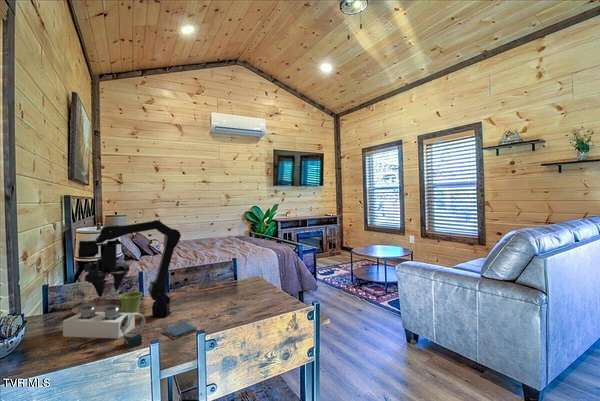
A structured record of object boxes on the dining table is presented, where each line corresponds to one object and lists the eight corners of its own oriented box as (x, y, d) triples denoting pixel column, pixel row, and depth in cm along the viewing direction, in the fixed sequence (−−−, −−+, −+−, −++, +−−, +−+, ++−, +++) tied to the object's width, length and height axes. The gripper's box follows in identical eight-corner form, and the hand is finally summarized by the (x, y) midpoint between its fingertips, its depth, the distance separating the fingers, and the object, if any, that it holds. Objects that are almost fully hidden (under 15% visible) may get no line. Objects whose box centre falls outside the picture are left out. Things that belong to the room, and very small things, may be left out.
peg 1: (98, 318, 124) (98, 304, 124) (89, 322, 119) (89, 308, 119) (86, 317, 124) (86, 304, 124) (77, 322, 119) (77, 308, 119)
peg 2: (122, 319, 123) (122, 305, 123) (114, 323, 118) (114, 309, 118) (110, 318, 124) (110, 304, 124) (102, 323, 119) (102, 308, 119)
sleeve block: (134, 327, 126) (134, 313, 126) (118, 338, 116) (118, 322, 116) (83, 325, 127) (83, 311, 127) (62, 336, 117) (63, 320, 117)
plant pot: (126, 319, 135) (126, 299, 135) (114, 314, 140) (115, 295, 140) (146, 312, 143) (146, 293, 143) (135, 308, 148) (135, 290, 148)
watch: (117, 345, 110) (118, 314, 110) (142, 338, 116) (142, 309, 116) (122, 350, 106) (122, 318, 106) (147, 343, 112) (147, 313, 112)
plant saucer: (62, 315, 139) (62, 308, 139) (108, 302, 157) (108, 296, 157) (87, 324, 129) (87, 316, 129) (134, 309, 148) (134, 302, 148)
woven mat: (184, 325, 130) (184, 320, 130) (199, 332, 123) (199, 327, 123) (160, 333, 122) (160, 328, 122) (174, 341, 115) (174, 335, 115)
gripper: (107, 251, 138) (107, 286, 138) (71, 259, 119) (71, 299, 119) (130, 252, 137) (130, 287, 137) (98, 260, 118) (98, 300, 118)
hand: (108, 293), depth 128 cm, fingers open, 9 cm apart
